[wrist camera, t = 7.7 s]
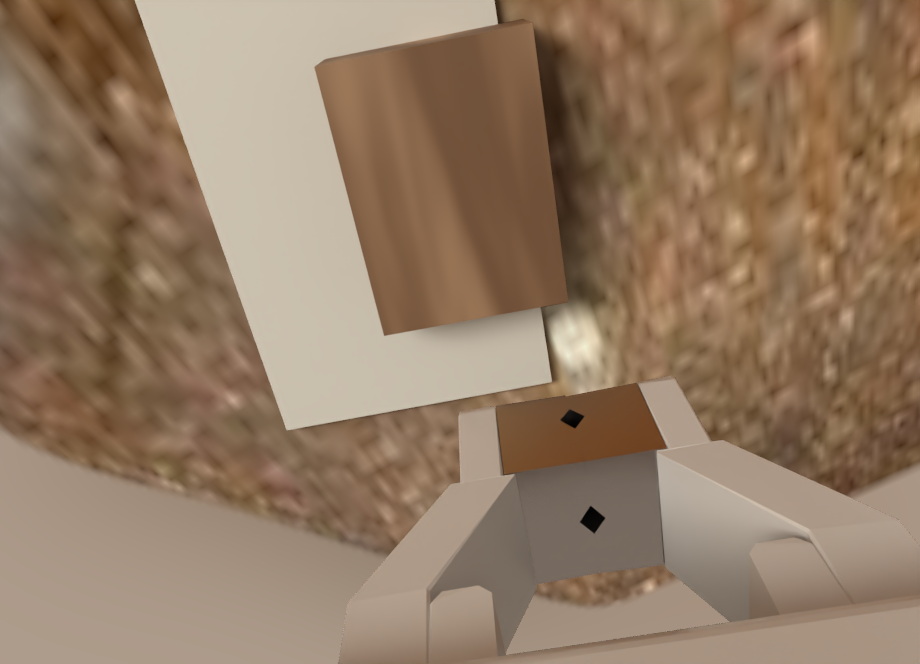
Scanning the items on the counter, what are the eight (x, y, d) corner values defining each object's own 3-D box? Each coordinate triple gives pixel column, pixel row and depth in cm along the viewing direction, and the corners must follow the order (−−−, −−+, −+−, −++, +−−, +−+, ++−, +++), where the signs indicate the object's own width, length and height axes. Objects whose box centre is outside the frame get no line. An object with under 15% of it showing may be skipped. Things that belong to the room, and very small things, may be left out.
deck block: (532, 22, 21) (314, 66, 21) (568, 302, 25) (384, 336, 25) (522, 19, 23) (324, 59, 23) (557, 276, 27) (387, 308, 27)
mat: (472, -139, 21) (473, -141, 21) (550, 377, 29) (551, 381, 29) (118, -62, 22) (112, -63, 21) (288, 425, 30) (286, 430, 29)
